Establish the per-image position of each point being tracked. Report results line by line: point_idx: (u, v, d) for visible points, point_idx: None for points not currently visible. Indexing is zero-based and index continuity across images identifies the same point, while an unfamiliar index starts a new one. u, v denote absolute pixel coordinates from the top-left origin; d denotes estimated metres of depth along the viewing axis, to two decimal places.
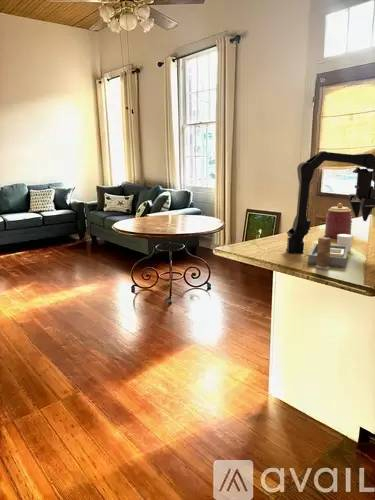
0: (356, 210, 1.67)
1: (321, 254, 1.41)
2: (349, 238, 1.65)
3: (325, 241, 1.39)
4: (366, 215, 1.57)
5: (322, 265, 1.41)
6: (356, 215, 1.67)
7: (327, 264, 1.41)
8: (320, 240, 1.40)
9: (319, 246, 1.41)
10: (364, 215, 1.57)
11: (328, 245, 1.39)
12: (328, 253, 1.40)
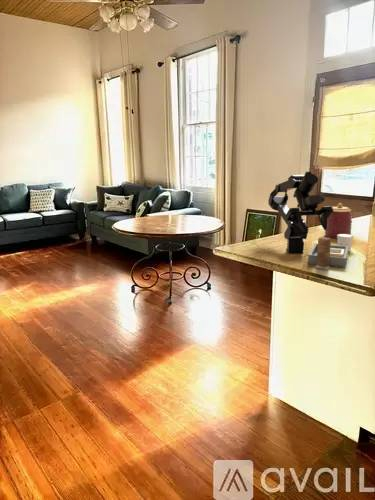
0: (323, 223, 1.51)
1: (321, 254, 1.41)
2: (349, 238, 1.65)
3: (325, 241, 1.39)
4: (300, 225, 1.49)
5: (322, 265, 1.41)
6: (324, 228, 1.50)
7: (327, 264, 1.41)
8: (320, 240, 1.40)
9: (319, 246, 1.41)
10: (299, 227, 1.49)
11: (328, 245, 1.39)
12: (328, 253, 1.40)
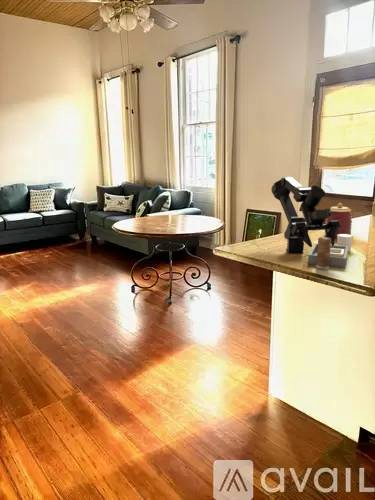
0: None
1: (321, 254, 1.41)
2: (349, 238, 1.65)
3: (325, 241, 1.39)
4: (307, 241, 1.43)
5: (322, 265, 1.41)
6: (332, 243, 1.44)
7: (327, 264, 1.41)
8: (320, 240, 1.40)
9: (319, 246, 1.41)
10: (306, 242, 1.44)
11: (328, 245, 1.39)
12: (328, 253, 1.40)
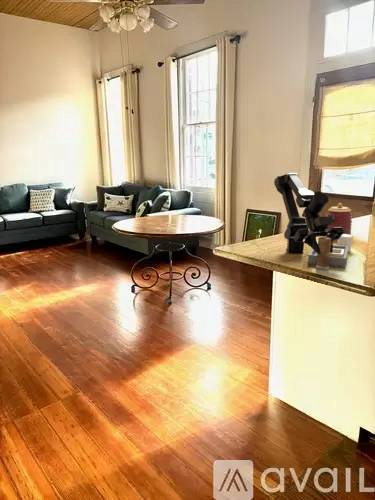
0: None
1: (321, 254, 1.41)
2: (349, 238, 1.65)
3: (325, 241, 1.39)
4: (315, 247, 1.42)
5: (322, 265, 1.41)
6: (330, 250, 1.42)
7: (327, 264, 1.41)
8: (320, 240, 1.40)
9: (319, 246, 1.41)
10: (314, 248, 1.42)
11: (328, 245, 1.39)
12: (328, 253, 1.40)
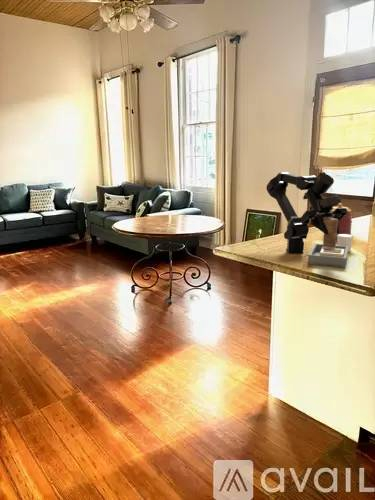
0: None
1: (329, 234, 1.42)
2: (349, 238, 1.65)
3: (333, 221, 1.40)
4: (322, 228, 1.43)
5: (330, 245, 1.43)
6: None
7: (334, 244, 1.43)
8: (328, 221, 1.41)
9: (327, 227, 1.42)
10: (321, 229, 1.43)
11: (336, 225, 1.41)
12: (335, 233, 1.42)
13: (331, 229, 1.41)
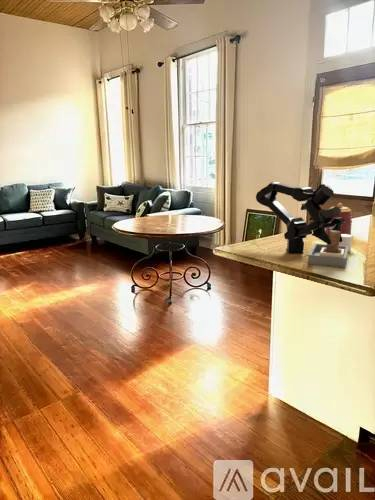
0: None
1: (333, 246, 1.47)
2: (349, 238, 1.65)
3: (336, 234, 1.46)
4: (325, 239, 1.47)
5: None
6: (339, 240, 1.50)
7: None
8: (331, 233, 1.46)
9: (330, 239, 1.47)
10: (323, 240, 1.47)
11: (339, 237, 1.47)
12: (338, 245, 1.48)
13: (335, 241, 1.47)
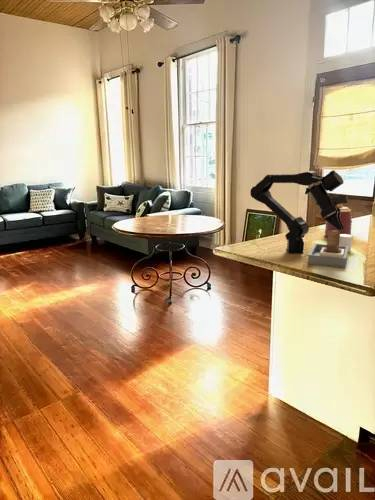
0: None
1: (333, 246, 1.47)
2: (349, 238, 1.65)
3: (337, 234, 1.46)
4: (337, 224, 1.48)
5: None
6: (341, 227, 1.56)
7: None
8: (332, 233, 1.46)
9: (330, 239, 1.47)
10: (335, 225, 1.48)
11: (339, 237, 1.47)
12: (338, 245, 1.48)
13: (335, 241, 1.47)
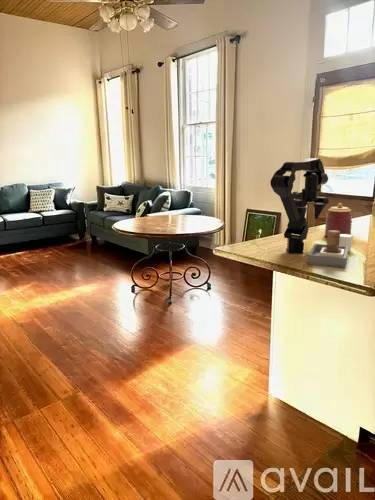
0: None
1: (333, 246, 1.47)
2: (349, 238, 1.65)
3: (337, 234, 1.46)
4: None
5: None
6: None
7: None
8: (332, 233, 1.46)
9: (330, 239, 1.47)
10: None
11: (339, 237, 1.47)
12: (338, 245, 1.48)
13: (335, 241, 1.47)
